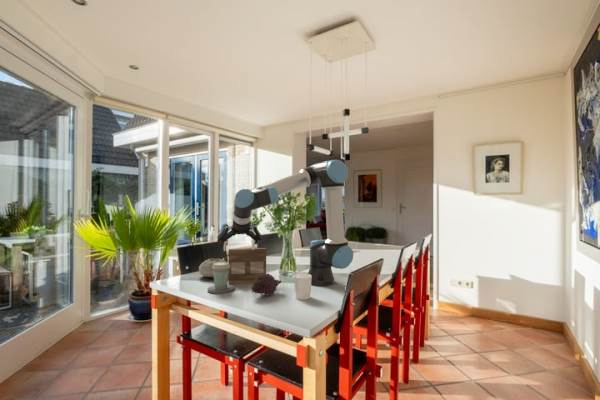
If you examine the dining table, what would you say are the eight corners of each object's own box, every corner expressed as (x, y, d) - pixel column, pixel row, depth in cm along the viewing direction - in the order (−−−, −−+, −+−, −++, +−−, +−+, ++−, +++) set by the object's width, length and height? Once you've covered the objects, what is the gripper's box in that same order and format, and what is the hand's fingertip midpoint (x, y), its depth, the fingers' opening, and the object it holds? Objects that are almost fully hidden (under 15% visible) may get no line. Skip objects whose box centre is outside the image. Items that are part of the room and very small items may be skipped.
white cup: (294, 294, 140) (294, 273, 140) (311, 295, 140) (311, 273, 140) (293, 300, 132) (294, 277, 133) (311, 300, 132) (311, 278, 132)
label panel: (228, 281, 163) (228, 248, 163) (265, 279, 167) (265, 247, 167) (228, 284, 157) (228, 250, 157) (266, 282, 161) (266, 249, 161)
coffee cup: (225, 290, 142) (225, 265, 142) (208, 289, 144) (208, 264, 144) (232, 286, 150) (233, 262, 150) (217, 285, 152) (217, 261, 152)
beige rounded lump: (233, 273, 182) (233, 256, 182) (226, 281, 164) (227, 262, 164) (204, 273, 182) (204, 256, 182) (194, 280, 164) (194, 262, 164)
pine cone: (258, 302, 129) (258, 279, 129) (243, 297, 136) (243, 275, 136) (285, 293, 143) (286, 272, 143) (271, 289, 149) (271, 269, 149)
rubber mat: (239, 290, 147) (239, 288, 147) (215, 295, 138) (215, 293, 138) (226, 284, 156) (226, 282, 156) (202, 289, 148) (202, 287, 148)
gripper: (212, 226, 125) (212, 255, 139) (271, 225, 132) (265, 253, 146) (212, 213, 130) (212, 243, 144) (268, 212, 137) (263, 241, 151)
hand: (238, 248), depth 145 cm, fingers open, 13 cm apart
